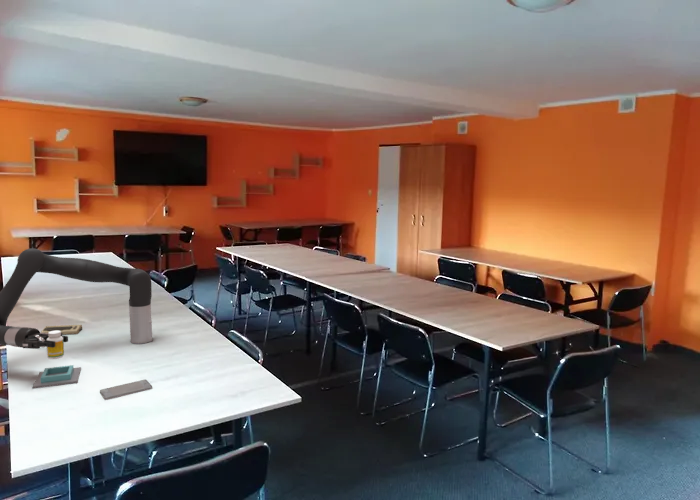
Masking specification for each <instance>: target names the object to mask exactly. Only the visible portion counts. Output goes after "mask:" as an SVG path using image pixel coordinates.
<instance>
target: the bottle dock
mask: <svg viewBox="0 0 700 500" xmlns="http://www.w3.org/2000/svg"><path fill="white" fill-rule="evenodd" d="M81 371H82V367H81V366H80V367H79V366H77V367H74V364H73V365H71V364H70V365H65V366H64V365H62V366H53V367H46V368H44V369H43V371H39V372H38V374H37V376H36V378H35V380H34V382H33V385H32V386H31V387H32V389H41V388H47V387H55V386H56V387H57V386H64V385H73V384H77V383H78V381H79V377H80V375H81Z"/></svg>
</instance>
